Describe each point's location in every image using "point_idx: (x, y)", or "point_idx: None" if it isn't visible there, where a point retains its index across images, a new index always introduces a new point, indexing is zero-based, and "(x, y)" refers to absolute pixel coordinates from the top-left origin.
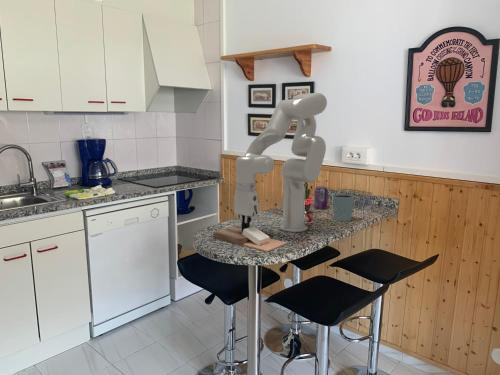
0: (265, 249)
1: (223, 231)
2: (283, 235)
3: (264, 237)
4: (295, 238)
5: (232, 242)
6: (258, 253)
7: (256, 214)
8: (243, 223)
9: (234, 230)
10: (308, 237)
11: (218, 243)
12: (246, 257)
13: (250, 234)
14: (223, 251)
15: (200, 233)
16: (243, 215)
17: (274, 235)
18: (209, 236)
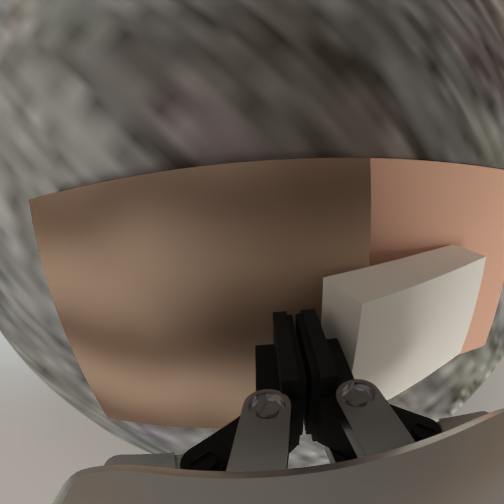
0: (475, 342)
1: (120, 384)
2: (411, 21)
3: (471, 304)
4: (485, 52)
5: None
6: (457, 379)
7: (502, 418)
8: (306, 433)
9: (138, 321)
10: (496, 13)
11: (218, 430)
12: None
13: (401, 386)
14: (322, 457)
15: (29, 366)
16: (235, 469)
17: (372, 50)
18: (84, 382)
